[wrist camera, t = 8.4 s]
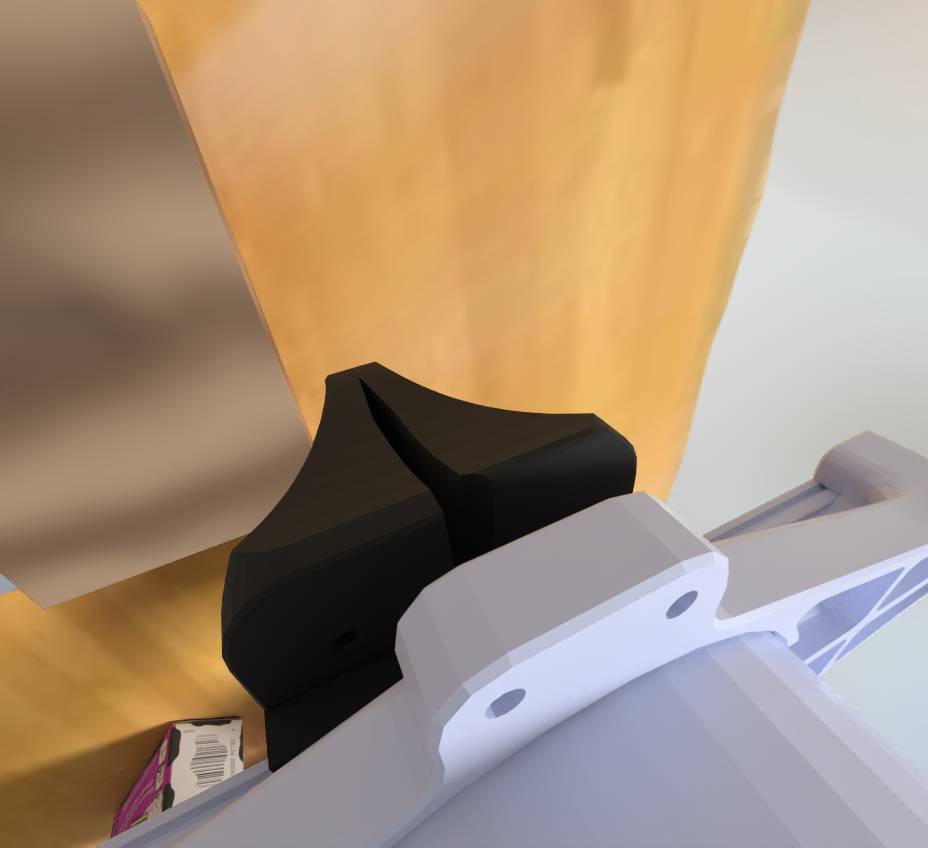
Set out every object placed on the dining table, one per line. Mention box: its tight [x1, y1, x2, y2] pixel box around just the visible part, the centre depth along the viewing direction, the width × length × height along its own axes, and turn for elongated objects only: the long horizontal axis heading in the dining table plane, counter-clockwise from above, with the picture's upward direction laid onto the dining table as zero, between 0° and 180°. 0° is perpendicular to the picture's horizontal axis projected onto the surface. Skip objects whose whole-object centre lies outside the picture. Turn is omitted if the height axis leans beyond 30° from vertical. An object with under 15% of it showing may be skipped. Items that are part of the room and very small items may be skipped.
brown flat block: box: [0, 0, 313, 610], centre depth 16 cm, size 18×12×4 cm, turn 6°
